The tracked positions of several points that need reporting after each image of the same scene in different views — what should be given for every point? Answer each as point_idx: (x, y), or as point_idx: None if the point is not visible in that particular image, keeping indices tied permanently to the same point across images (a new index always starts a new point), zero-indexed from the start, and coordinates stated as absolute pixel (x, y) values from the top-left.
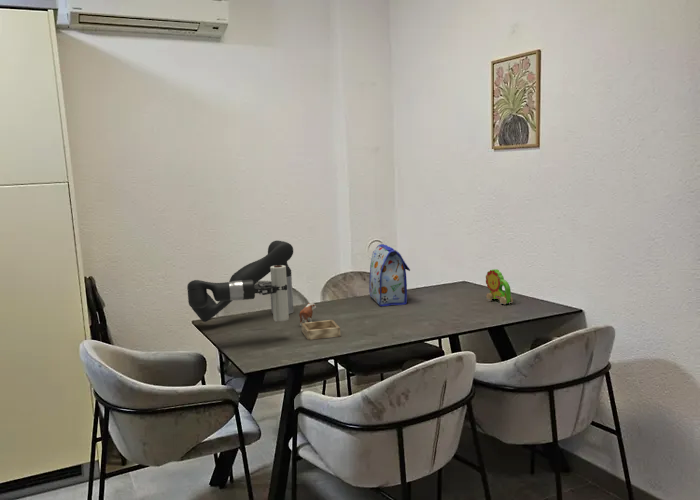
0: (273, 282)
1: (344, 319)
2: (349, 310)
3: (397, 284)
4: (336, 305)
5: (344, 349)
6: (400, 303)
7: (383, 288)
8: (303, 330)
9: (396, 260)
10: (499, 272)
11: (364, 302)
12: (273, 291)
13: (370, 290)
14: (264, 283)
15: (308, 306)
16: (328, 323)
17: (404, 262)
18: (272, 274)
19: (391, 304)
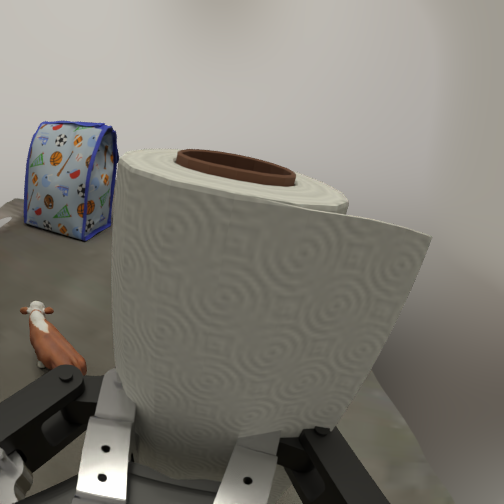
0: (289, 406)
1: (107, 308)
2: (54, 271)
3: (106, 192)
4: (2, 265)
5: (377, 401)
6: (103, 226)
7: (89, 204)
8: None
9: (101, 146)
10: None
11: (38, 240)
12: (308, 470)
13: (34, 212)
14: (125, 485)
15: (47, 325)
16: None
17: (117, 149)
18: (314, 321)
19: (97, 232)
